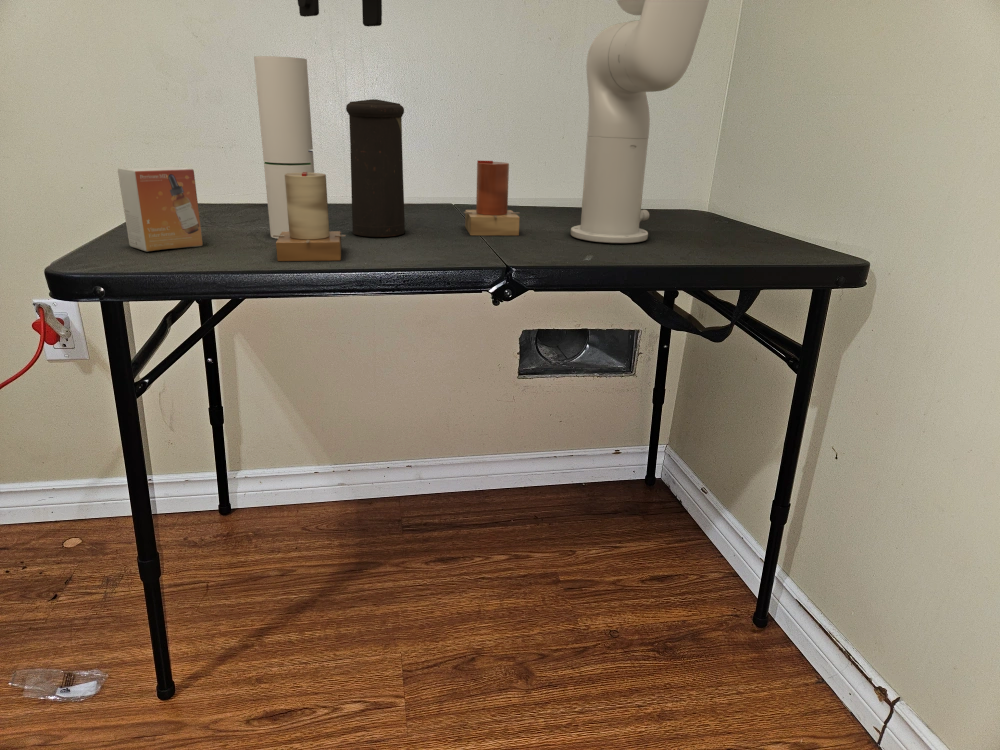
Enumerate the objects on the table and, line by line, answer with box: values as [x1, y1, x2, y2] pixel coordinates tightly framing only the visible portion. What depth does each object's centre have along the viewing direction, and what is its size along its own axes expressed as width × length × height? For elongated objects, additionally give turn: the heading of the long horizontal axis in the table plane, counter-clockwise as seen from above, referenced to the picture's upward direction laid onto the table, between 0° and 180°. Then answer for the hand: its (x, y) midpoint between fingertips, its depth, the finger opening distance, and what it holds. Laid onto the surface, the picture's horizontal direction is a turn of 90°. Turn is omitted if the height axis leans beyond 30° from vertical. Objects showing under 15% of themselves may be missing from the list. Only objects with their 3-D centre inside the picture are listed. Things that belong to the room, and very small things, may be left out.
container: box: [345, 98, 406, 238], centre depth 106 cm, size 9×9×20 cm
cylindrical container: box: [253, 55, 315, 240], centre depth 101 cm, size 7×7×25 cm
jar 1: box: [285, 172, 330, 239], centre depth 90 cm, size 5×5×8 cm
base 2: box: [463, 209, 521, 237], centre depth 114 cm, size 9×9×3 cm
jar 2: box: [475, 159, 510, 215], centre depth 112 cm, size 5×5×8 cm
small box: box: [117, 165, 203, 252], centre depth 93 cm, size 8×6×10 cm
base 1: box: [273, 230, 346, 262], centre depth 92 cm, size 9×9×3 cm
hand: (342, 21), depth 86 cm, fingers open, 9 cm apart
